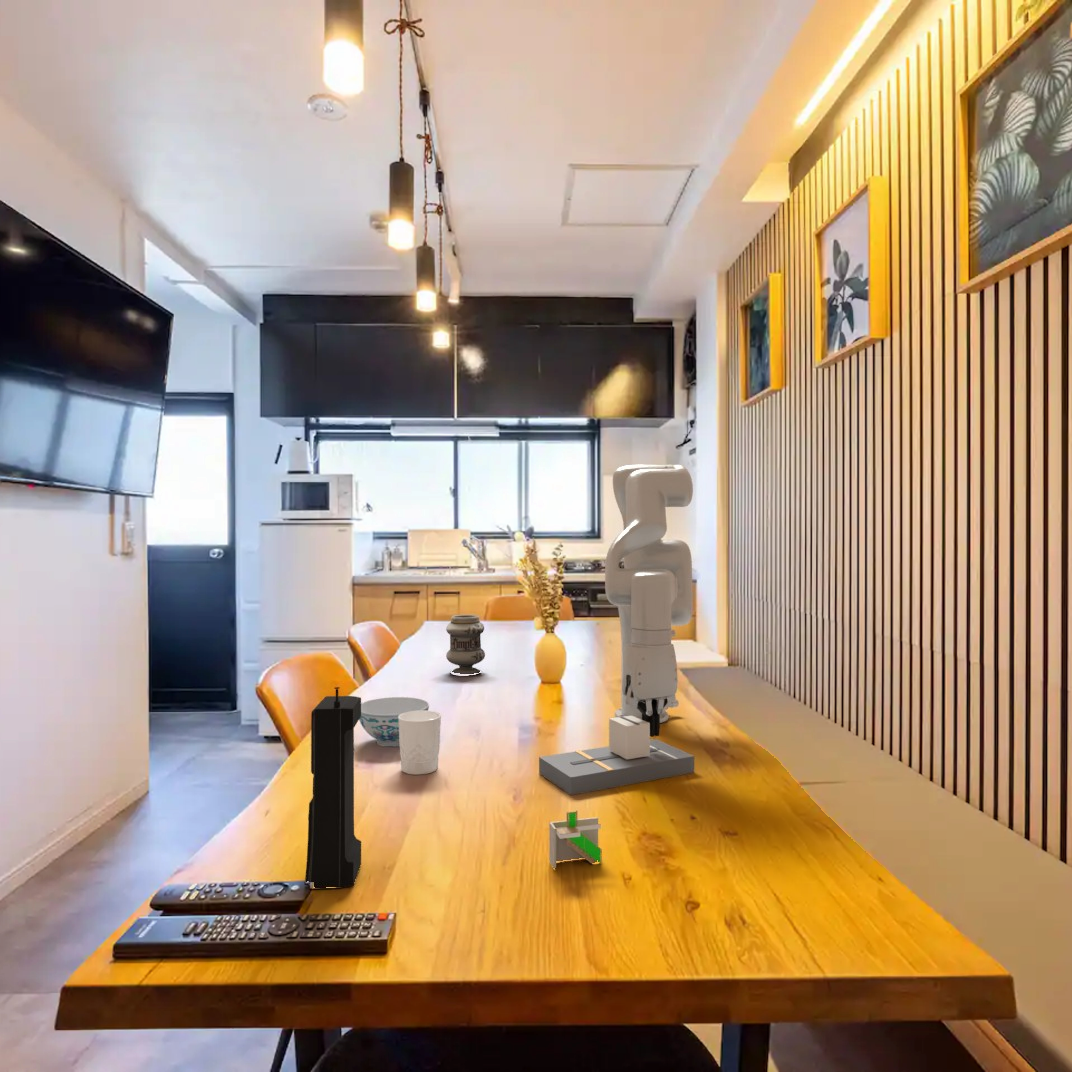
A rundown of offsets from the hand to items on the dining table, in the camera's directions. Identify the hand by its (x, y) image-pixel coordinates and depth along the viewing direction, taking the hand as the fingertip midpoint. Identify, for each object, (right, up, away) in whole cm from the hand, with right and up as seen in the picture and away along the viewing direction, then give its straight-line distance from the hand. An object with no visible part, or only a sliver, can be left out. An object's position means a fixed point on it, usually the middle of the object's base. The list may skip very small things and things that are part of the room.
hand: (650, 734), depth 135 cm
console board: (-7, -6, -3) cm, 10 cm away
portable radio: (-48, -7, -42) cm, 64 cm away
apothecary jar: (-43, -6, +88) cm, 98 cm away
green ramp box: (-16, -7, -39) cm, 43 cm away
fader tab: (-4, -3, -2) cm, 6 cm away
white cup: (-43, -6, -1) cm, 44 cm away
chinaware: (-52, -6, +16) cm, 55 cm away
